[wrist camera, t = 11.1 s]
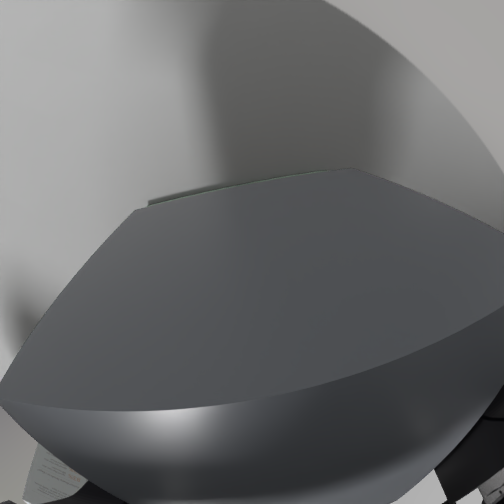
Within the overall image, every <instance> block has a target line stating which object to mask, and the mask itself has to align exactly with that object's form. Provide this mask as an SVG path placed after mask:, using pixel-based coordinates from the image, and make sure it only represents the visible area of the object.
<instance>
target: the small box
mask: <svg viewBox="0 0 504 504" xmlns="http://www.w3.org/2000/svg"><path fill="white" fill-rule="evenodd" d="M87 481H88V480H87V479H86V478H84V477H83V476H81V475H80V474H78V473H77V472H75V471H74V470H73V469H71V468H70V467H68V466H67V465H66V464H64V463H63V462H62V461H60V460H59V459H58V458H56V457H55V456H54V455H53V454H51V453H50V452H49V451H48V450H46V449H45V448H44V447H43V446H42V445H41V444H39V443H38V445H37V448H36V452H35V455H34V458H33V461H32V464H31V468H30V471H29V475H28V478H27V482H26V486H25V490H24V494H23V500H24V501H25V502H26V503H27V504H42V503H46V502H51V501H55V500H59V499H63V498H67V497H69V496H71V495H73V494H74V493H76V492H77V491H78V490H79V489H80V488H81V487H82V486H83V485H84V484H85V483H86V482H87Z"/></svg>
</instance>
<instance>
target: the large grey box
mask: <svg viewBox="0 0 504 504" xmlns="http://www.w3.org/2000/svg"><path fill="white" fill-rule="evenodd" d="M503 384H504V234H503V233H502V232H500V231H498V230H496V229H494V228H493V227H491V226H489V225H487V224H485V223H483V222H481V221H479V220H477V219H475V218H473V217H471V216H469V215H467V214H465V213H463V212H461V211H459V210H457V209H455V208H453V207H451V206H448V205H446V204H444V203H442V202H439V201H437V200H435V199H433V198H430V197H428V196H426V195H423V194H421V193H418V192H416V191H414V190H411V189H409V188H406V187H404V186H401V185H398V184H396V183H393V182H390V181H388V180H385V179H382V178H380V177H377V176H374V175H371V174H368V173H365V172H362V171H359V170H356V169H353V168H347V169H339V170H332V171H325V172H318V173H311V174H304V175H298V176H292V177H286V178H280V179H274V180H268V181H263V182H257V183H252V184H247V185H241V186H236V187H231V188H226V189H222V190H217V191H212V192H207V193H203V194H198V195H194V196H190V197H185V198H181V199H177V200H173V201H169V202H165V203H161V204H157V205H153V206H149V207H145V208H141V209H137V210H135V211H134V212H133V213H132V214H131V215H130V216H129V217H128V218H127V219H126V220H125V221H124V222H123V223H122V224H121V225H120V226H119V227H118V228H117V229H116V230H115V231H114V232H113V233H112V234H111V235H110V236H109V237H108V239H107V240H106V241H105V242H104V243H103V244H102V245H101V246H100V247H99V248H98V249H97V251H96V252H95V253H94V254H93V255H92V256H91V257H90V258H89V260H88V261H87V262H86V263H85V264H84V265H83V267H82V268H81V269H80V270H79V271H78V272H77V274H76V275H75V276H74V277H73V278H72V280H71V281H70V282H69V283H68V285H67V286H66V287H65V288H64V290H63V291H62V292H61V293H60V295H59V296H58V297H57V299H56V300H55V301H54V302H53V304H52V305H51V306H50V308H49V309H48V310H47V312H46V313H45V314H44V316H43V317H42V319H41V320H40V321H39V323H38V324H37V326H36V327H35V328H34V330H33V331H32V333H31V334H30V336H29V337H28V339H27V340H26V342H25V343H24V345H23V346H22V348H21V349H20V351H19V352H18V354H17V355H16V357H15V359H14V360H13V362H12V364H11V365H10V367H9V369H8V370H7V372H6V374H5V375H4V377H3V379H2V381H1V382H0V406H1V407H2V408H3V409H4V410H5V411H6V412H7V413H8V414H9V415H10V416H11V417H12V418H13V419H14V420H15V421H16V422H17V423H18V424H19V425H20V426H21V427H22V428H23V429H24V430H25V431H26V432H27V433H28V434H29V435H30V436H31V437H33V438H34V439H35V440H36V441H37V442H38V443H39V444H41V445H42V446H43V447H44V448H45V449H46V450H48V451H49V452H50V453H51V454H53V455H54V456H55V457H56V458H58V459H59V460H60V461H62V462H63V463H64V464H66V465H67V466H68V467H70V468H71V469H73V470H74V471H75V472H77V473H78V474H80V475H81V476H83V477H84V478H86V479H87V480H89V481H90V482H92V483H94V484H95V485H97V486H98V487H100V488H102V489H103V490H105V491H107V492H108V493H110V494H112V495H114V496H116V497H117V498H119V499H121V500H123V501H125V502H127V503H129V504H390V503H392V502H394V501H396V500H398V499H399V498H400V497H402V496H403V495H404V494H405V493H407V492H408V491H409V490H410V489H412V488H413V487H414V486H415V485H416V484H417V483H419V482H420V481H421V480H422V479H423V478H424V477H425V476H427V475H428V474H429V473H430V472H431V471H432V470H433V469H434V468H435V467H436V466H437V465H438V464H439V463H440V462H441V461H442V460H443V459H444V458H445V457H446V456H447V455H448V454H449V453H450V452H451V451H452V450H453V449H454V448H455V447H456V446H457V445H458V443H459V442H460V441H461V440H462V439H463V438H464V437H465V435H466V434H467V433H468V432H469V431H470V430H471V428H472V427H473V426H474V425H475V423H476V422H477V421H478V420H479V418H480V417H481V416H482V414H483V413H484V412H485V410H486V409H487V408H488V406H489V405H490V404H491V402H492V401H493V399H494V398H495V396H496V395H497V394H498V392H499V391H500V389H501V388H502V386H503Z"/></svg>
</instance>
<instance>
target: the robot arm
mask: <svg viewBox="0 0 504 504" xmlns="http://www.w3.org/2000/svg"><path fill="white" fill-rule="evenodd" d="M434 470H435V472H436V475H437V477H438V479H439V481H440V483H441V486H442V488H443V490H444V493H445V495H446V497H447V500H448V502H449V504H453V503H455V502H456V501H458V500H460V499H461V498H463V497H464V496H466V495H467V494H469V493H470V492H472V491H473V490H475V489H476V488H478V489H479V491H480V493H481V494H482V497H483V501H482V504H504V384H503V386H502V388H501V389H500V391H499V392H498V394H497V395H496V396H495V398H494V399H493V401H492V402H491V404H490V405H489V406H488V408H487V409H486V410H485V412H484V413H483V414H482V416H481V417H480V418H479V420H478V421H477V422H476V423H475V425H474V426H473V427H472V428H471V430H470V431H469V432H468V433H467V434H466V435H465V437H464V438H463V439H462V440H461V441H460V442H459V443H458V445H457V446H456V447H455V448H454V449H453V450H452V451H451V452H450V453H449V454H448V455H447V456H446V457H445V458H444V459H443V460H442V461H441V462H440V463H439V464H438V465H437V466H436V467H435V468H434ZM0 504H16V503H14V502H12V501H10V500H8V501H5V502H2V503H0ZM42 504H129V503H127V502H125V501H123V500H121V499H119V498H117V497H116V496H114V495H112V494H110V493H108V492H107V491H105V490H103V489H102V488H100V487H98V486H97V485H95V484H94V483H92V482H90V481H89V480H88V481H87V482H86V483H85V484H84V485H83V486H82V487H81V488H80V489H79V490H78V491H77V492H76V493H74V494H73V495H71V496H69V497H67V498H63V499H59V500H55V501H51V502H46V503H42Z"/></svg>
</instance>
